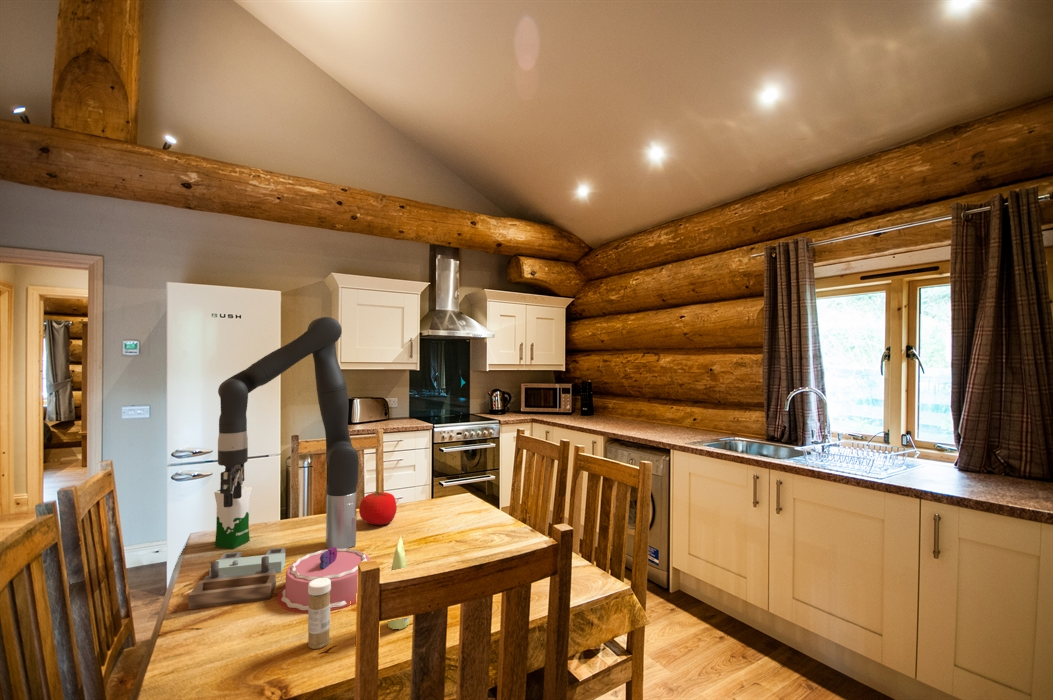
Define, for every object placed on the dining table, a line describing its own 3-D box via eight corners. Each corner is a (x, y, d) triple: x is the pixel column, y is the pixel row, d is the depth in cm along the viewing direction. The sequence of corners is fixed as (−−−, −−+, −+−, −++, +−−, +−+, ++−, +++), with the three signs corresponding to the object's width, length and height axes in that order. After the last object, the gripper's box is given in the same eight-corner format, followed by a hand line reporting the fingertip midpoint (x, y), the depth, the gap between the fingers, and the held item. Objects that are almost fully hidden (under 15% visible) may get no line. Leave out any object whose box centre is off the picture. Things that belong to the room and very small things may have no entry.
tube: (381, 624, 113) (382, 540, 114) (399, 615, 117) (401, 534, 117) (395, 633, 110) (397, 546, 110) (414, 624, 114) (415, 540, 114)
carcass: (277, 581, 134) (278, 554, 134) (269, 599, 124) (270, 570, 124) (202, 589, 129) (203, 562, 129) (188, 609, 119) (188, 579, 119)
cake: (313, 566, 145) (314, 530, 145) (392, 573, 141) (393, 536, 141) (254, 609, 120) (255, 566, 120) (348, 619, 116) (348, 574, 116)
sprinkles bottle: (324, 635, 109) (325, 575, 109) (333, 643, 106) (334, 581, 106) (303, 643, 105) (304, 581, 106) (312, 652, 102) (313, 588, 102)
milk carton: (231, 538, 165) (232, 479, 165) (254, 540, 163) (255, 480, 163) (209, 548, 156) (210, 485, 156) (233, 550, 154) (235, 487, 155)
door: (287, 557, 150) (287, 544, 150) (281, 572, 139) (281, 558, 139) (221, 564, 144) (221, 550, 144) (209, 580, 134) (209, 565, 134)
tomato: (402, 518, 186) (403, 488, 186) (384, 531, 173) (385, 498, 173) (372, 515, 189) (373, 485, 189) (352, 528, 176) (353, 495, 176)
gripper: (240, 451, 137) (240, 508, 136) (253, 442, 150) (253, 494, 150) (209, 452, 134) (209, 511, 134) (226, 443, 148) (226, 496, 148)
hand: (232, 502), depth 142 cm, fingers open, 8 cm apart
